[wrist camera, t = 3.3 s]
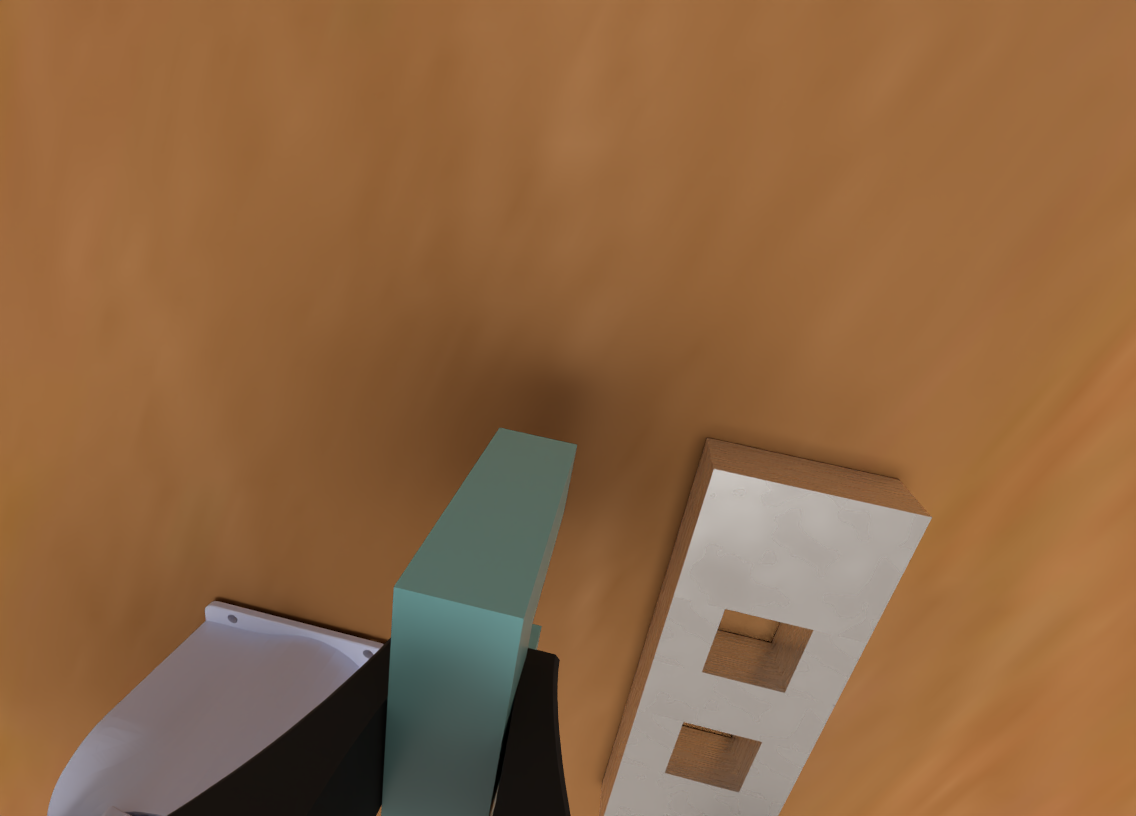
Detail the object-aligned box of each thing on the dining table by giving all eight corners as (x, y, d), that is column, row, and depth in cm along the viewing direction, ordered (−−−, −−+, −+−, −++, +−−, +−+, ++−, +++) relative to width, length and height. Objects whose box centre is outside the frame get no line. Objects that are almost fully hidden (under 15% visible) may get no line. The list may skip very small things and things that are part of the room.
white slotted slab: (601, 783, 28) (597, 837, 25) (706, 437, 20) (713, 468, 18) (738, 820, 27) (746, 877, 25) (899, 479, 20) (932, 517, 17)
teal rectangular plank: (468, 659, 17) (377, 889, 11) (499, 427, 14) (393, 586, 8) (532, 675, 16) (470, 917, 11) (577, 444, 13) (524, 619, 8)
